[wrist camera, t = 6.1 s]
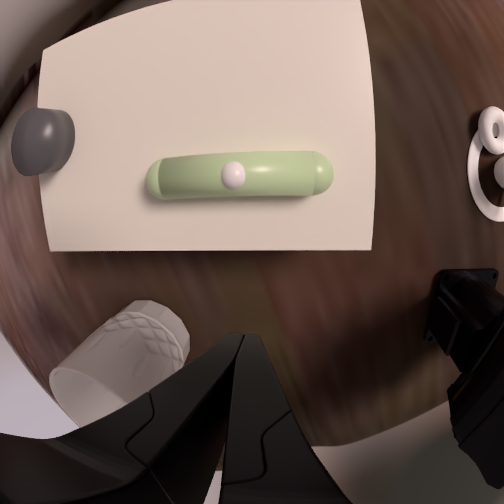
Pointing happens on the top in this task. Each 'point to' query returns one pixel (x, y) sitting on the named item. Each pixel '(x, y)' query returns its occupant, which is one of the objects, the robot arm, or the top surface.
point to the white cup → (120, 361)
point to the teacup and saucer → (488, 128)
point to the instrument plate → (207, 129)
